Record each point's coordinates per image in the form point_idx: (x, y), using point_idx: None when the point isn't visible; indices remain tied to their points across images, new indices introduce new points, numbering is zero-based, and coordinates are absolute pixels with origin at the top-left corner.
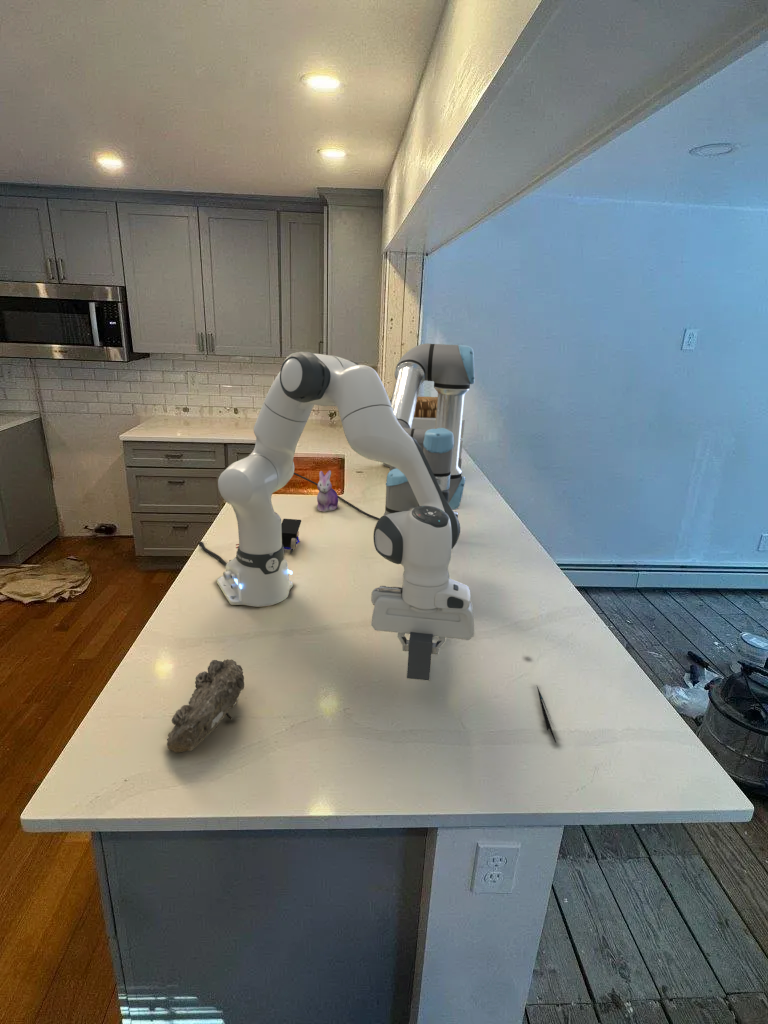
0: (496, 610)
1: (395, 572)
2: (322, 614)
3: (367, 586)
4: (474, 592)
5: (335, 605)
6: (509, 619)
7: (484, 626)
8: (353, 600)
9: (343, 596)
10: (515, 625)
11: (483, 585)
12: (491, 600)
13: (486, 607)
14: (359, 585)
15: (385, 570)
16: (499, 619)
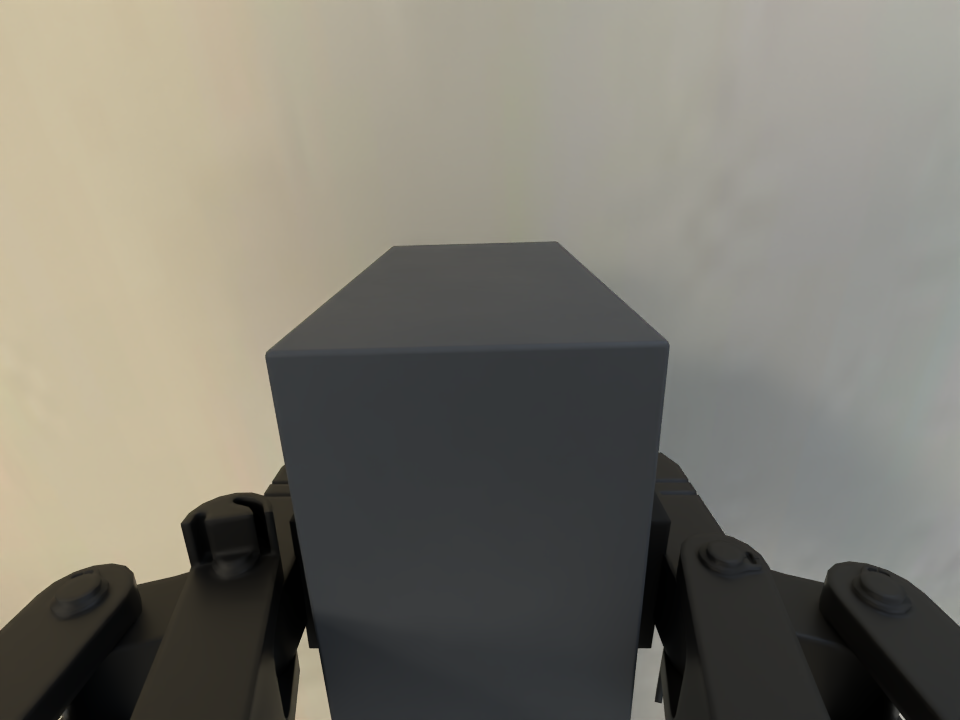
0: (892, 468)
1: (184, 54)
2: None
3: (78, 349)
4: (812, 273)
5: (19, 583)
6: (934, 540)
7: None
8: (81, 523)
9: (5, 495)
10: (943, 583)
11: (915, 136)
12: (901, 360)
13: (841, 448)
14: (22, 347)
15: (89, 32)
16: (878, 549)
